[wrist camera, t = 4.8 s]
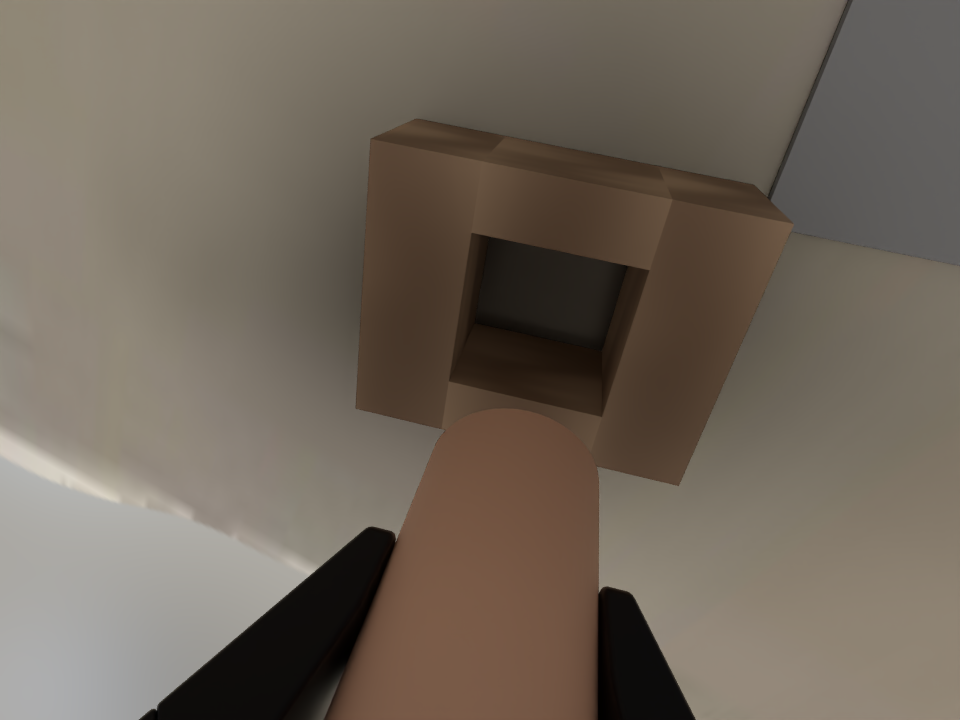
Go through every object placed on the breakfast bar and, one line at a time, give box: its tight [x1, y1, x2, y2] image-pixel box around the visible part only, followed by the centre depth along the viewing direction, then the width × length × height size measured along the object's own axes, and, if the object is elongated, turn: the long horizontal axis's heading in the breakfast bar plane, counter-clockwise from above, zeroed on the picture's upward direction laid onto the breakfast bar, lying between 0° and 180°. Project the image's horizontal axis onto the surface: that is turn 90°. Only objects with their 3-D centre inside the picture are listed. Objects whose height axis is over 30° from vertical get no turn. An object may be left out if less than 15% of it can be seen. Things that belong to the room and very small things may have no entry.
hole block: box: [356, 119, 794, 486], centre depth 17 cm, size 10×8×4 cm
